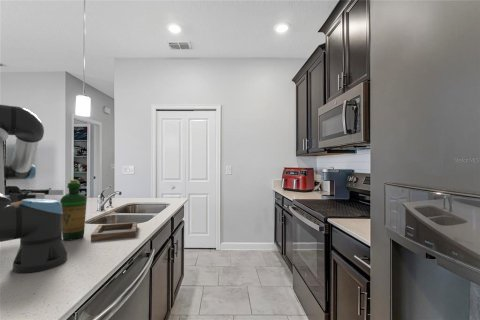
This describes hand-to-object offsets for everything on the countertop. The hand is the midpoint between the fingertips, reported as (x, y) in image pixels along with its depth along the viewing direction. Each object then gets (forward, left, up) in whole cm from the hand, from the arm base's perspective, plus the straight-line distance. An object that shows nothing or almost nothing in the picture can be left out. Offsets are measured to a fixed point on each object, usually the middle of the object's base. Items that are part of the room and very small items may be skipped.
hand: (54, 194), depth 117 cm
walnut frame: (-2, -27, -21) cm, 35 cm away
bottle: (-3, -9, -21) cm, 23 cm away
